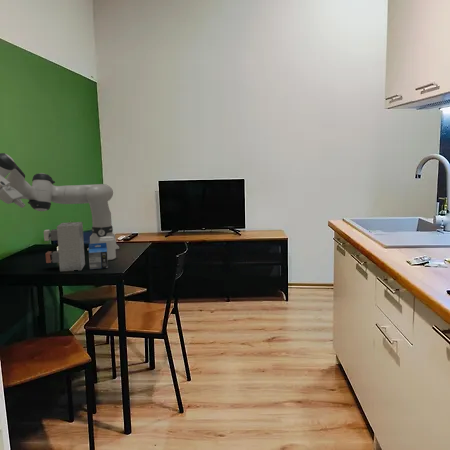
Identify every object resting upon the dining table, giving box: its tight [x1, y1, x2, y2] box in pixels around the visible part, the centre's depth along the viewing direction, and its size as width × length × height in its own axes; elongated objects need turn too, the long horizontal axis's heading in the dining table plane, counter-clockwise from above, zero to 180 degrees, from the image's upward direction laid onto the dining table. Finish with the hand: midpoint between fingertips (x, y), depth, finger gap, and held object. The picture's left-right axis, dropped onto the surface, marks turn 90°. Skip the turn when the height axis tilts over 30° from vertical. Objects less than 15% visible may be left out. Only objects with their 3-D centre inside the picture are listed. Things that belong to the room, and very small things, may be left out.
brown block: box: [45, 250, 53, 264], centre depth 230 cm, size 5×6×5 cm
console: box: [50, 221, 86, 272], centre depth 231 cm, size 14×14×22 cm
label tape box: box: [88, 243, 109, 270], centre depth 230 cm, size 9×4×12 cm, turn 103°
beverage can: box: [100, 236, 117, 261], centre depth 251 cm, size 8×8×12 cm
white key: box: [43, 229, 51, 242], centre depth 229 cm, size 5×6×5 cm
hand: (23, 206), depth 227 cm, fingers closed
